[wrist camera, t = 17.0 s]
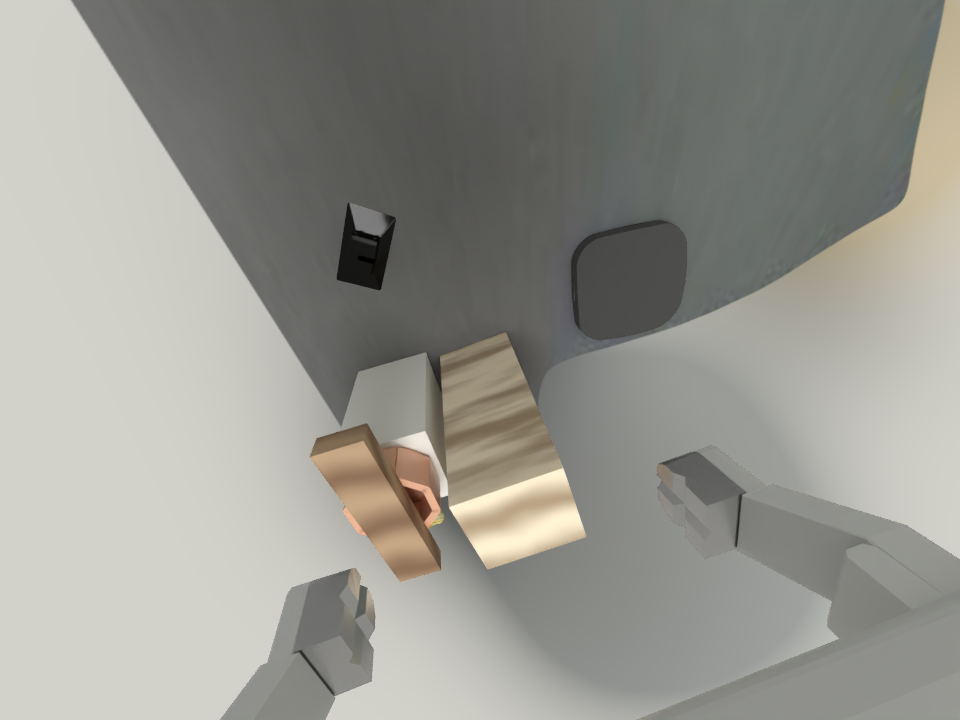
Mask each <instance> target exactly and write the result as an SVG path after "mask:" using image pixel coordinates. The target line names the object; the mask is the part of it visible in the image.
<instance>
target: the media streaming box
mask: <svg viewBox="0 0 960 720" xmlns="http://www.w3.org/2000/svg"><path fill="white" fill-rule="evenodd" d="M686 267H687V242H686V238H685V236H684V234H683V232H682V231H681V230H680V228H678V227H677V226H675V225H673V224H670V223H667V222H663V221H652V222H646V223H640V224H635V225H630V226H625V227H621V228H617V229H612V230H608V231H605V232H601V233H597V234H594V235H591V236H589V237H588V238H586V239H585V240H584V241H583V242H582V243H581V244H580V245H579V246H578V247H577V249H576V251H575V253H574V255H573V258H572V297H573V308H574V317H575V322H576V324H577V326H578V327H579V328H580V329H581V331H582V332H583V333H584V334H585V335H586V336H588V337H590V338H592V339H597V340H604V339H613V338H619V337H625V336H630V335H634V334H638V333H642V332H645V331H649V330H652V329H655V328H657V327H660V326H661V325H663V324H664V323H666V322H667V321H668V320H669V319H670V318H671V317H672V316H673V315H674V314H675V313H676V311H677V310H678V308H679V306H680V304H681V300H682V296H683V291H684V285H685V278H686Z"/></svg>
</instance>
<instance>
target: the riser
mask: <svg viewBox="0 0 960 720" xmlns="http://www.w3.org/2000/svg"><path fill="white" fill-rule="evenodd" d="M366 423H367V424H368V426H369V427H370V429H371V431H372V433H373V434H374V436H375V438H376V439H377V441H378V443H379V445H380V446H381V448H382V449H383V448H389V447H404V448H409V449H413V450H416V451H418V452H420V453H422V454H423V455H425V456H427V457H429V458H430V460H431V462H432V464H433V465H434V468H435V471H436V473H437V475H438V477H439V479H440V498H441V497H444V496H448V482H447V466H446V449H445V432H444V415H443V399H442V393H441V390H440V388H439V385H438V382H437V380H436V377H435V375H434V372H433V369H432V367H431V364H430V362H429V359H428V356H427V354H426V352H425V353H421V354H418V355H414V356H411V357H407V358H404V359H400V360H397V361H394V362H390V363H387V364H383V365H380V366H376V367H373V368H369V369H366V370H362V371H359V372H358V375H357V378H356V381H355V384H354V388H353V391H352V394H351V397H350V401H349V404H348V407H347V411H346V414H345V417H344V420H343V424H342V427H341V430H340V431H343V430H346V429H349V428H353V427H356V426H359V425H362V424H366Z"/></svg>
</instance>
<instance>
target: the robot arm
mask: <svg viewBox="0 0 960 720" xmlns="http://www.w3.org/2000/svg"><path fill="white" fill-rule="evenodd" d="M657 476H658V477H659V478H660V479H661V480H662V481H661V483H660V485H659V486H658V488H657V489H658V497H659V500H660V503H661V506H662V508H663V509H664V511H665V513H666V514H667V516H668V517H669V518H670V519H671V521H672V522H673V523H675V524H677V525H679V526H682V527H684V528H685V536H686V538H687V539H688V541H690V543H691V544H692V545H693V546H694V547H695V549H696V550H697V551H698V552H699V553H700V555H701V556H702V557H703V558H704V559H707V558H710V557H713V556H716V555H719V554H722V553H725V552H728V551H731V550H733V549H737V551H739V552H741V553H742V554H744V555H746V556H748V557H750V558H752V559H754V560H756V561H757V562H759V563H761V564H763V565H765V566H767V567H769V568H771V569H773V570H774V571H776V572H778V573H780V574H782V575H784V576H786V577H787V578H789V579H791V580H793V581H795V582H797V583H799V584H801V585H802V586H804V587H806V588H808V589H810V590H812V591H814V592H816V593H817V594H819V595H821V596H823V597H825V598H827V599H829V600H831V601H832V604H831V607H830V611H829V615H828V618H827V626H828V628H829V629H830V630H831V631H832V632H833V633H834V634H835V635H836V636H837V637H838V638H839V639H838V640H835V641H833V642H831V643H828V644H825V645H823V646H820V647H818V648H816V649H813V650H810V651H808V652H805V653H803V654H800V655H798V656H795V657H793V658H790V659H788V660H785V661H783V662H780V663H778V664H775V665H773V666H770V667H768V668H765V669H763V670H760V671H758V672H755V673H753V674H750V675H748V676H745V677H743V678H740V679H737V680H735V681H732V682H730V683H727V684H725V685H722V686H720V687H718V688H715V689H712V690H710V691H707V692H705V693H702V694H700V695H697V696H695V697H692V698H690V699H687V700H685V701H682V702H680V703H677V704H675V705H672V706H670V707H667V708H665V709H662V710H660V711H657V712H655V713H652V714H650V715H647V716H645V717H642V718H640V719H637V720H960V559H958V558H957V557H955V556H954V555H952V554H951V553H949V552H947V551H946V550H944V549H943V548H941V547H940V546H938V545H937V544H935V543H933V542H932V541H930V540H929V539H927V538H926V537H924V536H922V535H921V534H919V533H918V532H916V531H915V530H913V529H912V528H910V527H908V526H907V525H904V524H901V523H897V522H894V521H891V520H888V519H884V518H881V517H878V516H875V515H871V514H868V513H865V512H862V511H858V510H855V509H852V508H849V507H845V506H842V505H839V504H836V503H832V502H829V501H826V500H823V499H819V498H816V497H813V496H810V495H806V494H803V493H800V492H797V491H793V490H789V489H786V488H783V487H780V486H777V485H774V484H772V485H768V486H767V485H765V484H764V483H763V482H761V481H760V480H759V479H757V478H756V477H755V476H754V475H752V474H751V473H750V472H748V471H747V470H746V469H744V468H743V467H742V466H741V465H739V464H738V463H736V462H735V461H734V460H733V459H731V458H730V457H729V456H728V455H726V454H725V453H724V452H722V451H721V450H720V449H718V448H717V447H715V446H708V447H705V448H702V449H699V450H697V451H694V452H690V453H687V454H684V455H682V456H679V457H676V458H673V459H670V460H668V461H665V462H662V463H659V464H658V466H657ZM360 580H361V576H360V574H359V573H358V571H357V570H356V568H352V569H349V570H346V571H342V572H339V573H336V574H333V575H329V576H326V577H323V578H320V579H316V580H314V581H311V582H308V583H305V584H301V585H298V586H295V587H292V588H291V590H290V591H289V593H288V594H287V596H286V600H285V603H284V607H283V610H282V614H281V617H280V621H279V624H278V628H277V631H276V635H275V639H274V642H273V645H272V648H271V652H270V655H269V659H268V662H267V663H266V664H263V665H261V666H260V667H259V668H258V670H257V671H256V672H255V674H254V675H253V676H252V678H251V679H250V680H249V682H248V683H247V684H246V686H245V687H244V688H243V690H242V691H241V693H240V694H239V695H238V697H237V698H236V699H235V701H234V702H233V703H232V705H231V706H230V707H229V708H228V710H227V711H226V713H225V714H224V715H223V717H222V718H221V719H220V720H325V719H326V717H327V715H328V713H329V711H330V709H331V706H332V704H333V702H334V700H335V697H334V696H336V695H339V694H341V693H344V692H346V691H349V690H351V689H354V688H356V687H359V686H361V685H363V684H366V683H369V682H371V681H372V667H373V651H374V650H373V647H372V646H371V644H370V643H369V641H368V640H369V638H370V636H371V635H372V633H373V631H374V629H375V611H374V603H373V599H372V596H371V594H370V592H369V590H368V588H366V587H364V586H361V585H360Z"/></svg>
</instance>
